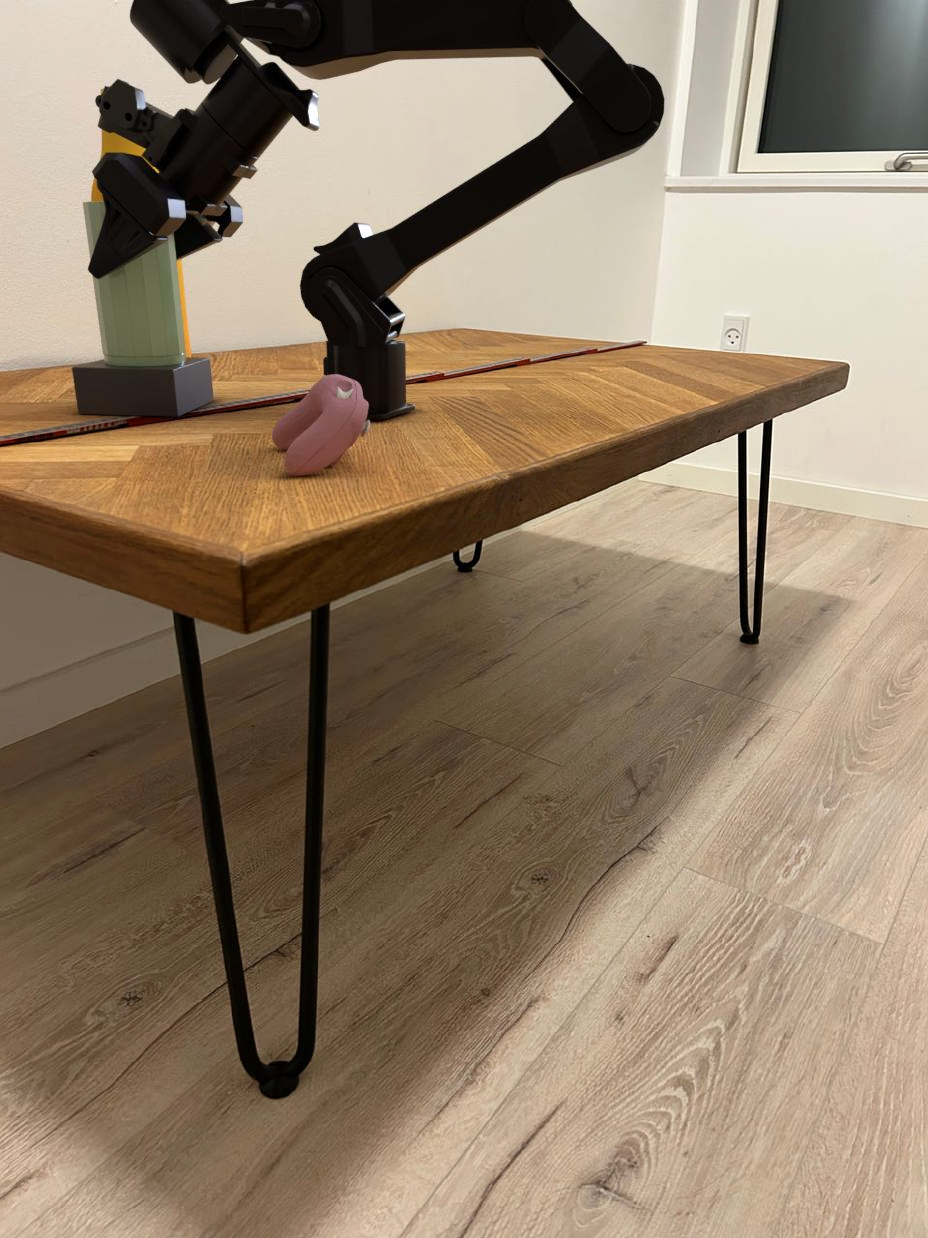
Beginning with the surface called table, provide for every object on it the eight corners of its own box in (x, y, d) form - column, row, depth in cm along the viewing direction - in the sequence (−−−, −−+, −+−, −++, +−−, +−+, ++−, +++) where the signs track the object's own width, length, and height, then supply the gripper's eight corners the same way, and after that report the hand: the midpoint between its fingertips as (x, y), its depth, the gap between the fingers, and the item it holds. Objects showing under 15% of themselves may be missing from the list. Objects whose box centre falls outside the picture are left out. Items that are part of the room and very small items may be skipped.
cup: (198, 358, 85) (183, 204, 80) (167, 367, 78) (149, 201, 73) (126, 356, 85) (107, 204, 81) (90, 365, 79) (67, 200, 74)
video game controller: (344, 498, 60) (389, 400, 59) (280, 471, 58) (325, 369, 57) (322, 465, 69) (361, 380, 68) (266, 441, 67) (304, 352, 66)
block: (214, 400, 87) (210, 357, 86) (178, 417, 79) (173, 369, 77) (123, 398, 88) (117, 355, 86) (78, 414, 80) (71, 366, 78)
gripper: (197, 69, 81) (95, 204, 86) (100, 22, 64) (-20, 194, 69) (289, 168, 83) (184, 294, 88) (220, 149, 66) (95, 306, 71)
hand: (117, 272), depth 79 cm, fingers open, 9 cm apart
